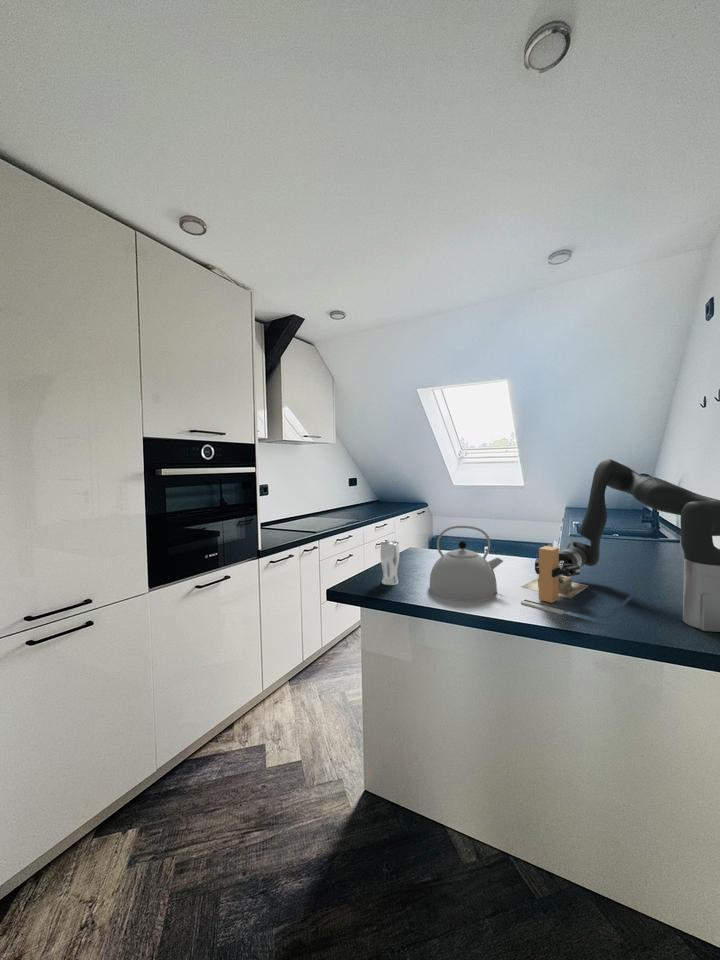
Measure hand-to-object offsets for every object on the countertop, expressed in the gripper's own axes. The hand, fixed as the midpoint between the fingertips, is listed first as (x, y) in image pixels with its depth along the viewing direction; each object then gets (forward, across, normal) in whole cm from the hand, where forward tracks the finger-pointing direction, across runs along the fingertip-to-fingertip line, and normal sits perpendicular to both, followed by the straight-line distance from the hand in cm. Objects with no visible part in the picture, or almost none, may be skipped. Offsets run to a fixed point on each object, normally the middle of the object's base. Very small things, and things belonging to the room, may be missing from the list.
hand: (545, 572), depth 117 cm
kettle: (+4, -25, +11) cm, 28 cm away
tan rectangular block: (-3, 0, +9) cm, 9 cm away
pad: (-3, 0, +10) cm, 11 cm away
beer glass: (+17, -49, +11) cm, 53 cm away
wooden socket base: (-19, -4, +10) cm, 22 cm away
